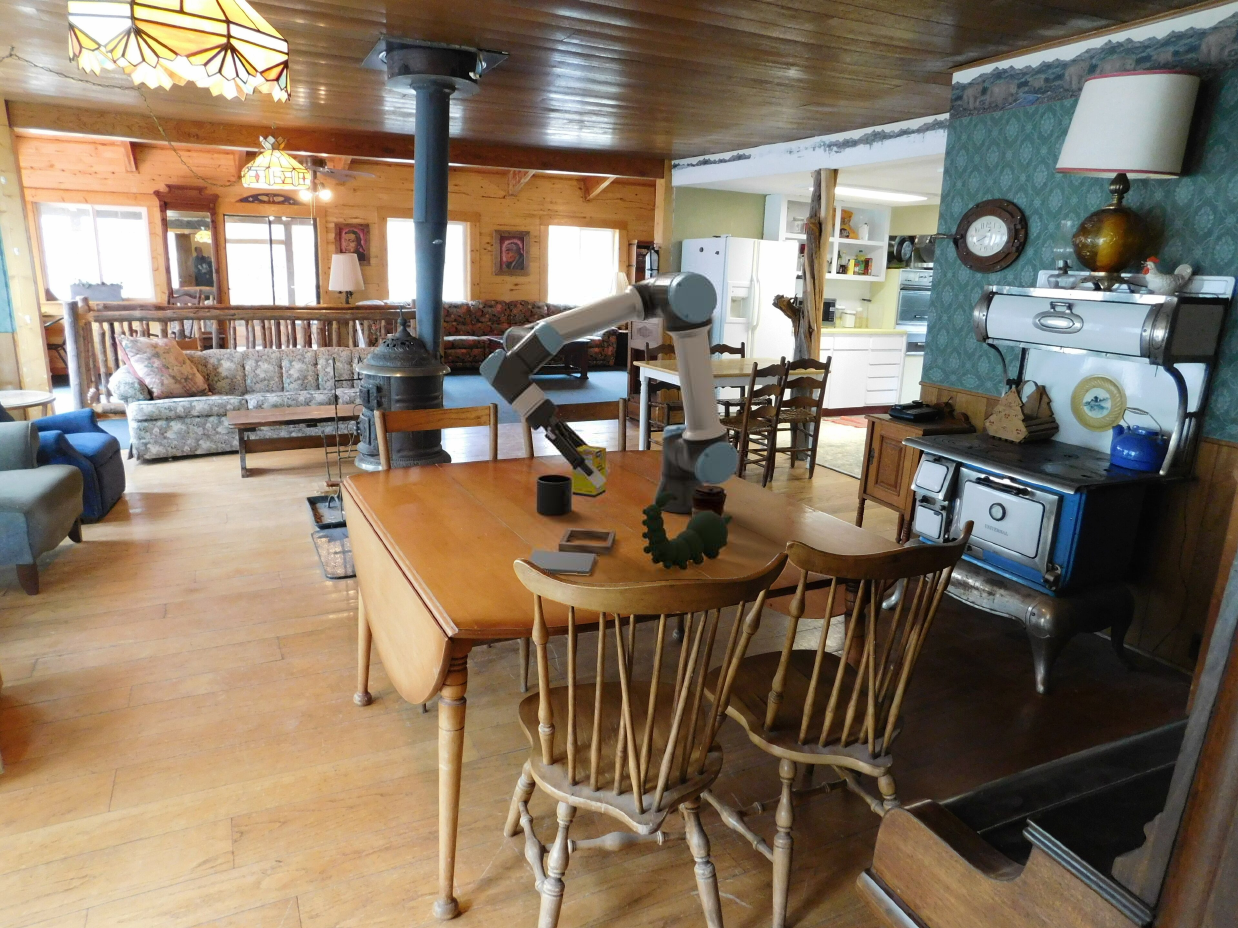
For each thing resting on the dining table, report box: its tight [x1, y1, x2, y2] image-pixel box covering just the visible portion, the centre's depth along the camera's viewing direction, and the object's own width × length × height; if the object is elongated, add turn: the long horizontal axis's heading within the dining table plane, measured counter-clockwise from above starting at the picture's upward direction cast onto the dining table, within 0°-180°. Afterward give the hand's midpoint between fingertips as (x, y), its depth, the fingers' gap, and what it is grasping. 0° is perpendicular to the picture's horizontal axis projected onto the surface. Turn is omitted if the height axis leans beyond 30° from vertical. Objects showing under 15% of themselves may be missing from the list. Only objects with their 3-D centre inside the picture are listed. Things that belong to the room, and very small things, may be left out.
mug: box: [536, 474, 573, 517], centre depth 212 cm, size 9×12×9 cm
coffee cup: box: [691, 484, 727, 518], centre depth 193 cm, size 9×8×13 cm
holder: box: [558, 527, 616, 556], centre depth 187 cm, size 12×12×2 cm
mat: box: [528, 549, 597, 575], centre depth 174 cm, size 14×11×1 cm
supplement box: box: [571, 445, 607, 499], centre depth 183 cm, size 6×6×11 cm
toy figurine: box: [641, 492, 733, 571], centre depth 176 cm, size 9×19×25 cm
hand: (604, 479), depth 184 cm, fingers closed on supplement box, 7 cm apart
